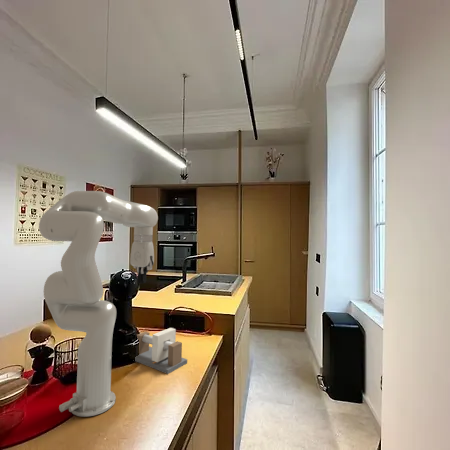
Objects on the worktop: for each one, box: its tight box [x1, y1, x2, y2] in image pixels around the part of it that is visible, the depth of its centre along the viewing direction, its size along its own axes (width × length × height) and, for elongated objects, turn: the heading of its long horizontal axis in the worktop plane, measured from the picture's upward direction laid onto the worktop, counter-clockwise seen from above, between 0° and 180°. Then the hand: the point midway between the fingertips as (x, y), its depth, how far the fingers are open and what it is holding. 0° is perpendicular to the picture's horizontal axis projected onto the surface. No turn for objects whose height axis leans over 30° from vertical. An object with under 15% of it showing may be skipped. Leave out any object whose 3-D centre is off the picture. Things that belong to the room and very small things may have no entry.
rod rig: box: [134, 331, 188, 375], centre depth 119 cm, size 11×22×9 cm, turn 57°
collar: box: [151, 327, 177, 362], centre depth 117 cm, size 10×3×10 cm, turn 147°
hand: (142, 282), depth 122 cm, fingers closed
